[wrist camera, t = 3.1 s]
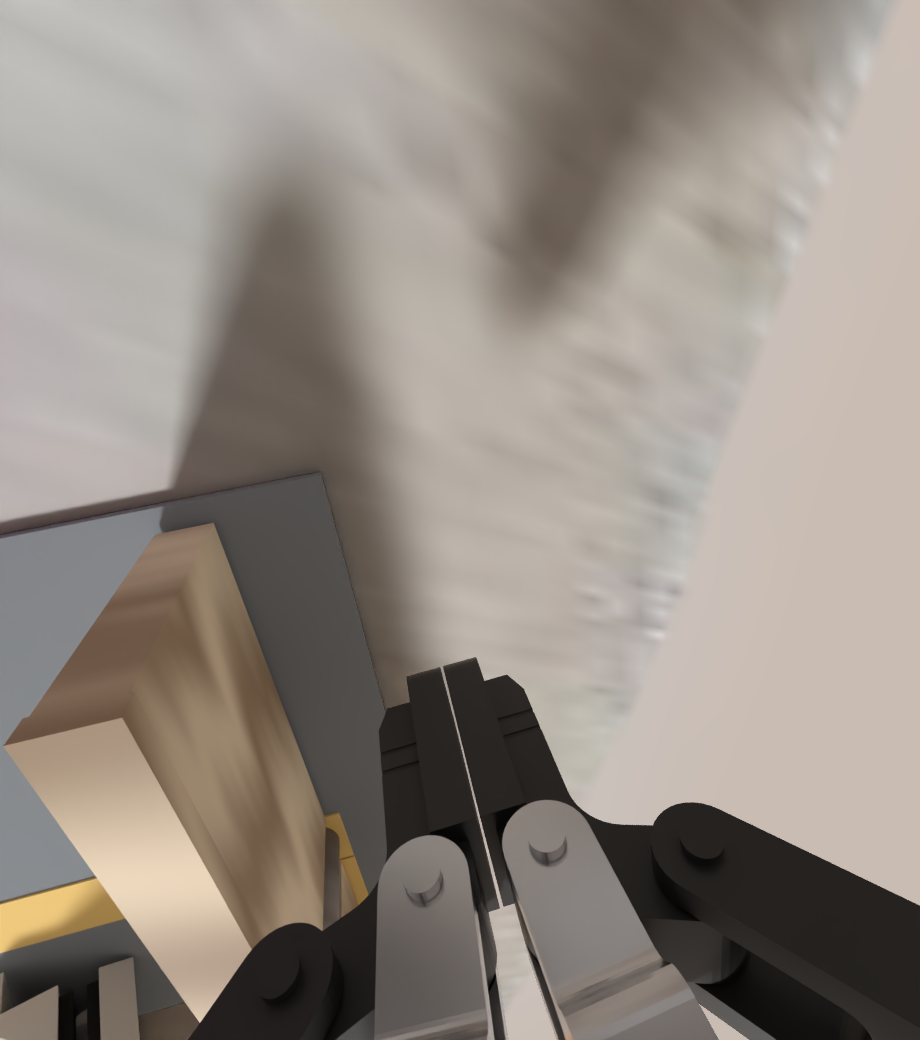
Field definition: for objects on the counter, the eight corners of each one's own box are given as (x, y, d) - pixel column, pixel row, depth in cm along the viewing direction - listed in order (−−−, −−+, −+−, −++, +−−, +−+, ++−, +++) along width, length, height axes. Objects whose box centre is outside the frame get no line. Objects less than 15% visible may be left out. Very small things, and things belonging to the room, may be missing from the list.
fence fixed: (282, 825, 22) (253, 1104, 15) (332, 812, 22) (329, 1080, 15) (343, 965, 26) (343, 1230, 19) (384, 952, 26) (400, 1210, 19)
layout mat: (-475, 628, 14) (-494, 637, 14) (320, 471, 16) (320, 476, 16) (-8, 1051, 24) (-13, 1063, 24) (441, 919, 26) (442, 927, 26)
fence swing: (151, 535, 15) (2, 746, 9) (216, 522, 16) (122, 717, 9) (281, 831, 21) (253, 1098, 14) (328, 819, 21) (322, 1076, 15)
